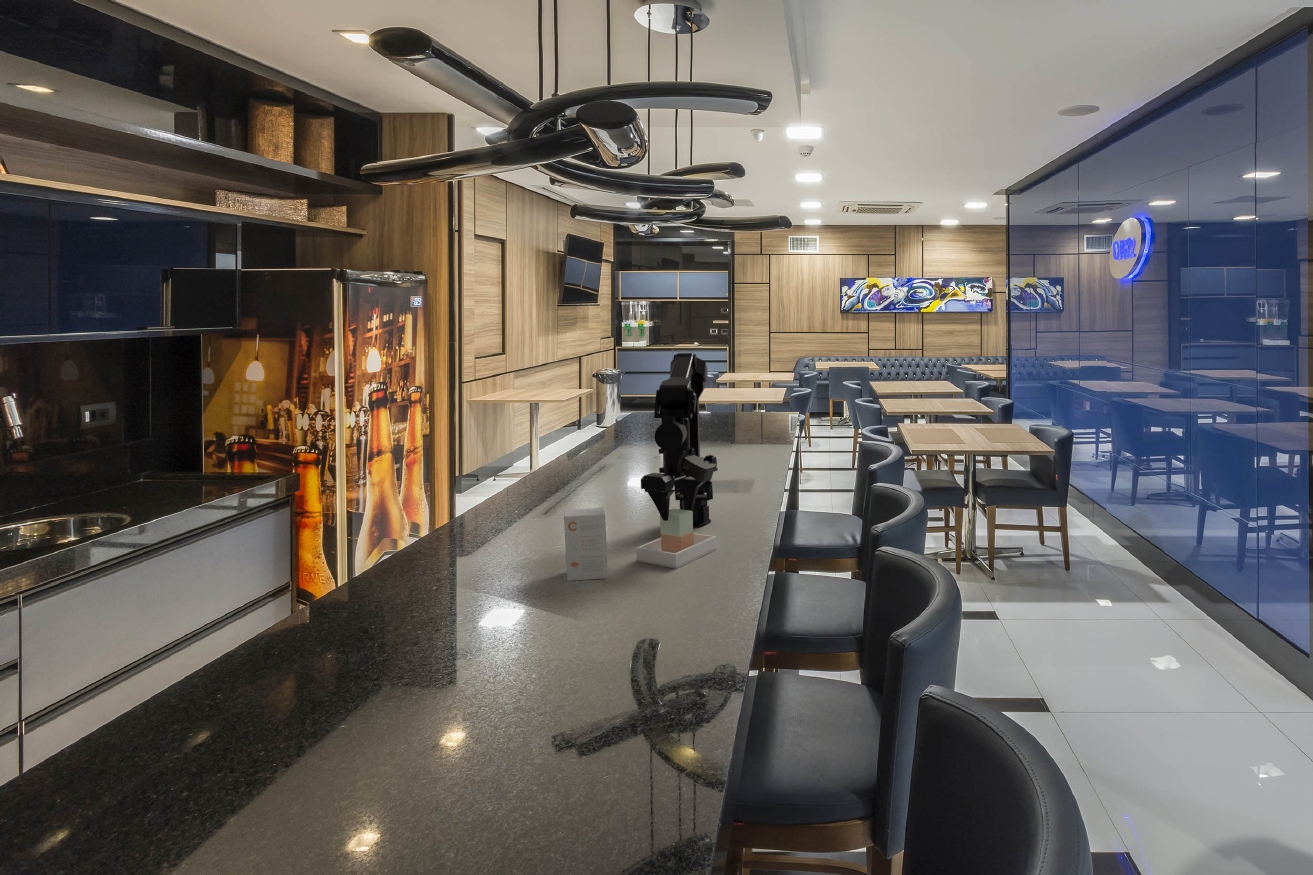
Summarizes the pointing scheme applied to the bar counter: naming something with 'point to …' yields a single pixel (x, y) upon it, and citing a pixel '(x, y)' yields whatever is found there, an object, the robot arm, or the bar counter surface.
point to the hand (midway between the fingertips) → (677, 515)
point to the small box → (585, 544)
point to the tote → (656, 556)
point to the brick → (676, 542)
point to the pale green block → (677, 523)
